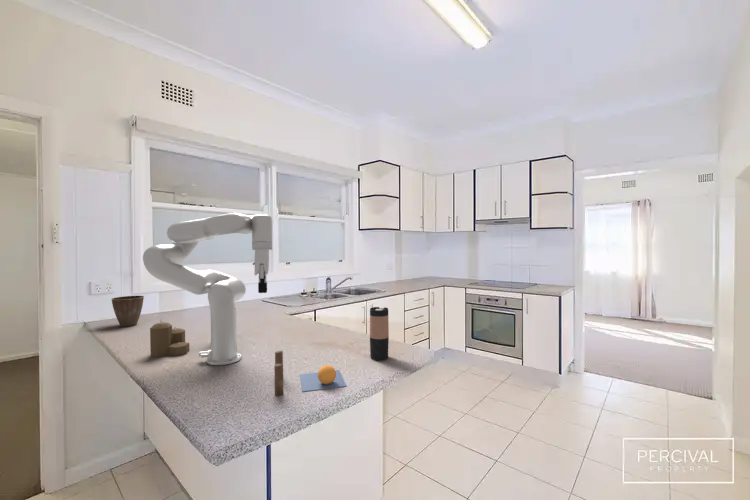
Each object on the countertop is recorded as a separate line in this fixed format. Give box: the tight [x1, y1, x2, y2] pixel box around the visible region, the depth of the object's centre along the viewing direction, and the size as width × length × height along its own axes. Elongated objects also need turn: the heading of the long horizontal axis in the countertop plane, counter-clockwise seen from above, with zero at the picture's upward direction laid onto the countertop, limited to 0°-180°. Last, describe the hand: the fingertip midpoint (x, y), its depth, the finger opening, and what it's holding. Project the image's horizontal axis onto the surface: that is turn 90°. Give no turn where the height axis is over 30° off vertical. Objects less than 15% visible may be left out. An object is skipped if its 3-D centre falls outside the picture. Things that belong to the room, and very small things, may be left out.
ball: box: [317, 364, 336, 385], centre depth 110 cm, size 6×6×6 cm
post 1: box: [274, 350, 284, 365], centre depth 116 cm, size 3×3×9 cm
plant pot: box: [111, 295, 145, 328], centre depth 191 cm, size 15×15×16 cm
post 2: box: [273, 363, 284, 397], centre depth 103 cm, size 3×3×9 cm
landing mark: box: [299, 369, 347, 393], centre depth 113 cm, size 14×14×1 cm
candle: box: [149, 318, 190, 358], centre depth 143 cm, size 14×14×15 cm
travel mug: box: [369, 306, 390, 362], centre depth 135 cm, size 8×8×20 cm
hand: (262, 292), depth 132 cm, fingers closed
